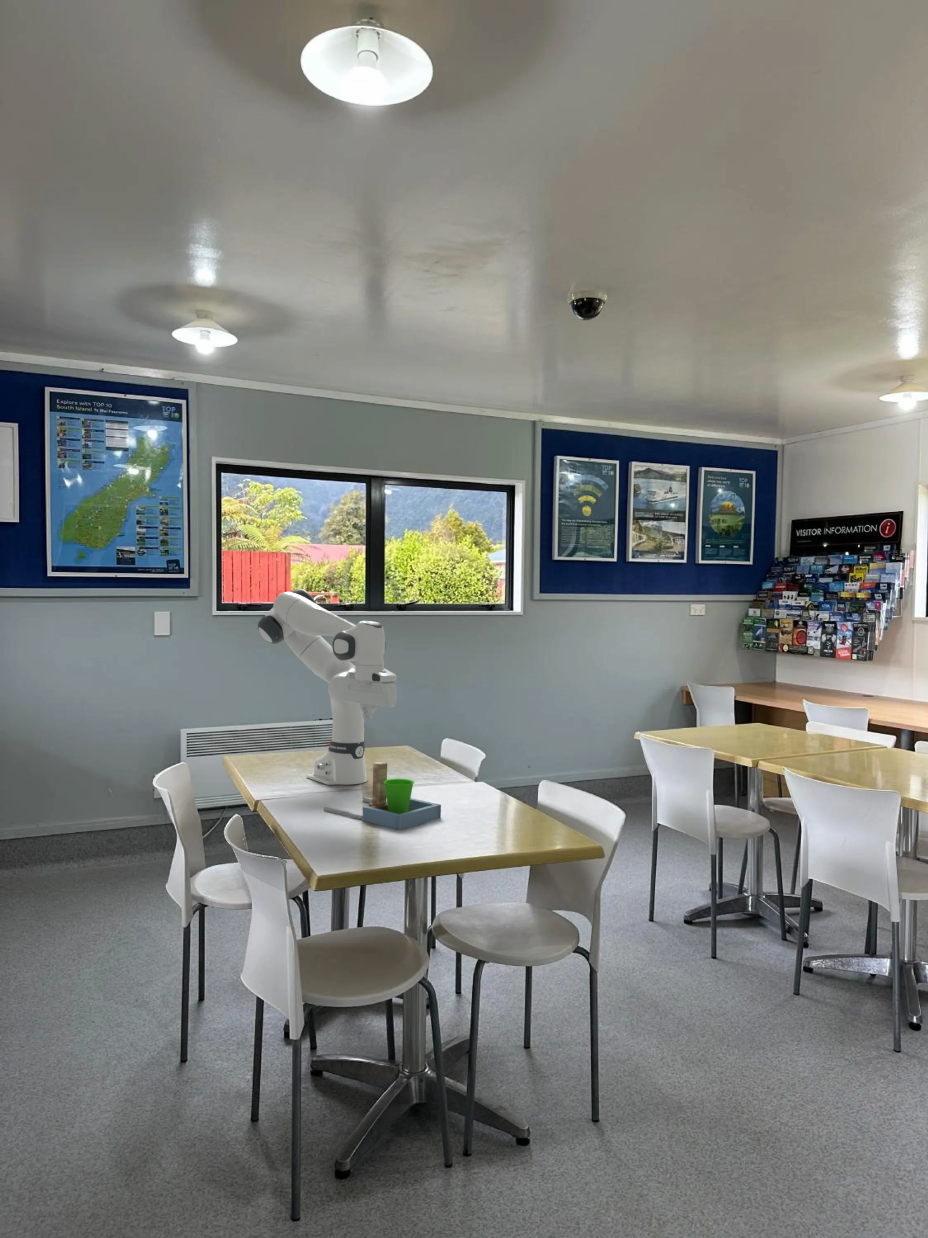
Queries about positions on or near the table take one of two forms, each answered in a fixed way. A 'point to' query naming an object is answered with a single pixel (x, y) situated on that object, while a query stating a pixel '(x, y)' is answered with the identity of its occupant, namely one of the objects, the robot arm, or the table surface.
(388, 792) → the cup
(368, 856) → the table surface
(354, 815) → the track
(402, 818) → the bay
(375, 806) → the stepped wooden block
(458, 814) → the table surface
